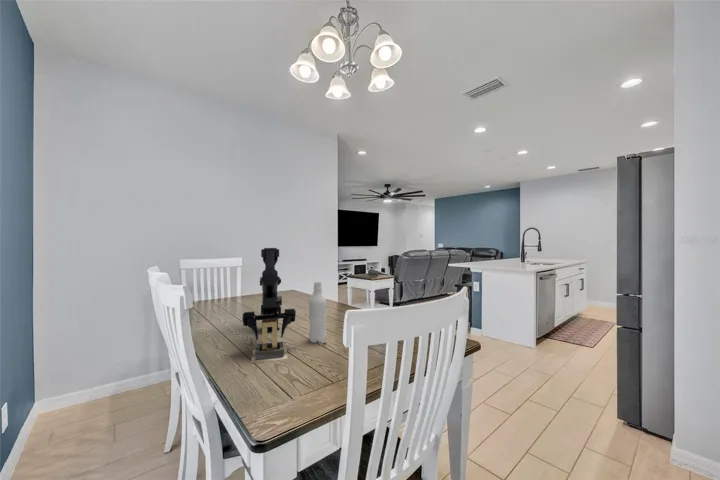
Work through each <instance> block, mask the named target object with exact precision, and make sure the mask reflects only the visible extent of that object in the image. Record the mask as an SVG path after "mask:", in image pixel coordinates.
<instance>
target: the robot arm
mask: <svg viewBox="0 0 720 480" xmlns="http://www.w3.org/2000/svg"><path fill="white" fill-rule="evenodd" d="M260 256H261V257H260V258H262V262H263V264H264V265H265V267H264V270H263V271H262V272H261V273H262V274H261V277H259V286H261V290H262V296H261V297H262V300H261V305H260V314H255V311H244V313H242V323H243V327H244V326H245V327H248V328H251V329H252V332H253V334H254V336H255V339H256V341H258V340H259V333H258V325H257V321H261V322H262V321H263V320H268V319H277V331H278V330H280V328H281V333H280V334H281V335H280V337H281V338H283V337H284V334H285V331H286V329H287V327H288V325H290V324H291V323H294V322H295V321H296V315H297V314H296V309H295V308H285V309H284V312H282V305H283V303H282V302H283V299H282V298H283V296H282V295H278V287H279V286H280V285H281V284H282V279H281V278H280V276H278V275H279V274H278V271H277V269H276V267H275V266H276V265H277V262H278V259H279V258H280V249H279V248H277V247H263V249H261V250H260ZM280 319H282V322H281V323H282V324H281V325H282V326H281V327H279V320H280ZM260 329H261V330H262V327H261V328H260ZM269 332H271V333H272V327H267V333H269Z"/></svg>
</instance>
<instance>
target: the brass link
mask: <svg viewBox="0 0 720 480" xmlns="http://www.w3.org/2000/svg"><path fill="white" fill-rule="evenodd" d="M267 327H272V331H271V333H272V335H271V338H272V339H271V340H272V342H271V343H272V347H270V348H267V344H265V343H268V332H267ZM261 328H262V329H261V336H262V337H261V340H262V341H261V342H262V343H261V344H263V346H262V351H267V350H276V349H277V342H278V330H277V319H268V320H263V321H262V320H261Z"/></svg>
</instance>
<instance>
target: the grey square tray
mask: <svg viewBox="0 0 720 480" xmlns="http://www.w3.org/2000/svg"><path fill="white" fill-rule="evenodd" d="M263 344H267V348H270V347H272V342H266V343H258V344H257V343H256V345H255V349H252V355H251V361H250V364H255V363H256V364H257V363H262V362H263V363H264V362H273V361H279V360H281V361H282V360H288V359H289V358H288V350H287V345H284V342H283V341H277V349H276V350H267V351H262V346H263Z"/></svg>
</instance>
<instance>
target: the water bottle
mask: <svg viewBox="0 0 720 480" xmlns="http://www.w3.org/2000/svg"><path fill="white" fill-rule="evenodd" d="M312 289H313V292H312V294H311V296H310V299H309V300H308V304H309V307H308V308H309V309H308V311H309V313H308V314H309V315H308V319H309V333H308V340H309V341H310V342H311V343H313V344H315V343H316V344H317V343H322V344H324V343H325V342H326V341H327V337H328V336H327V334H328V333H327V330H326V321H327V316H328V315H327V299H326V297H325V294H324V293H323V290H322V289H323V287H322V282H320V281H317V282H314V283H313V288H312Z"/></svg>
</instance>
